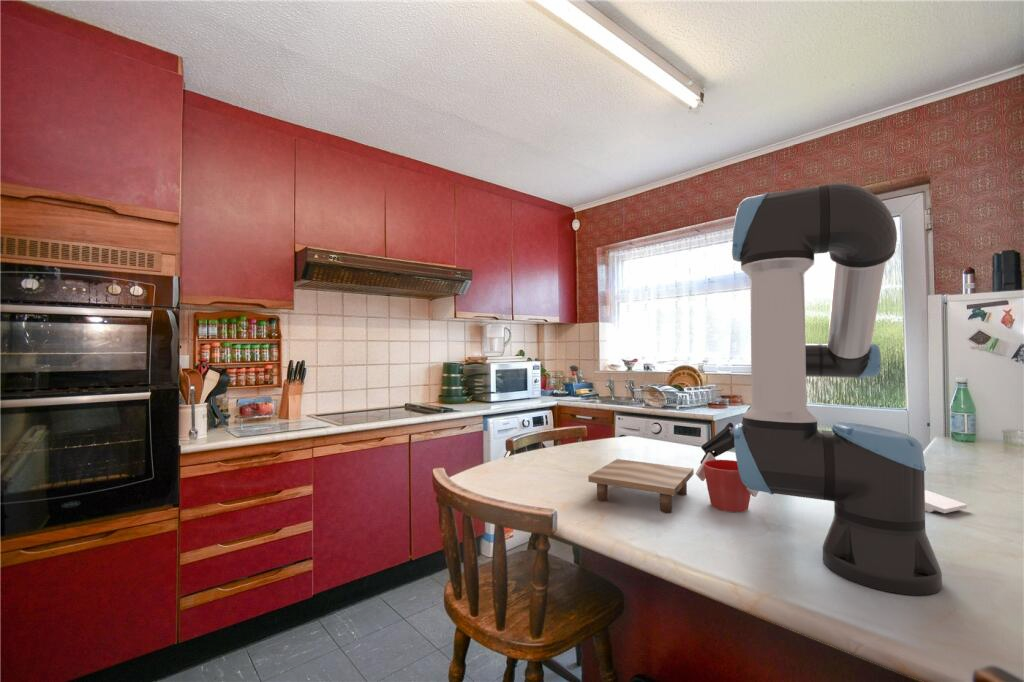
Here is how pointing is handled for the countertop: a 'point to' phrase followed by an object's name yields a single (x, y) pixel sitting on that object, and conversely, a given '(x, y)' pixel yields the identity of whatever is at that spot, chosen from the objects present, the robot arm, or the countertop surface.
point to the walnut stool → (643, 479)
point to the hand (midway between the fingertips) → (723, 484)
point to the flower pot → (726, 486)
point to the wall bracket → (941, 503)
